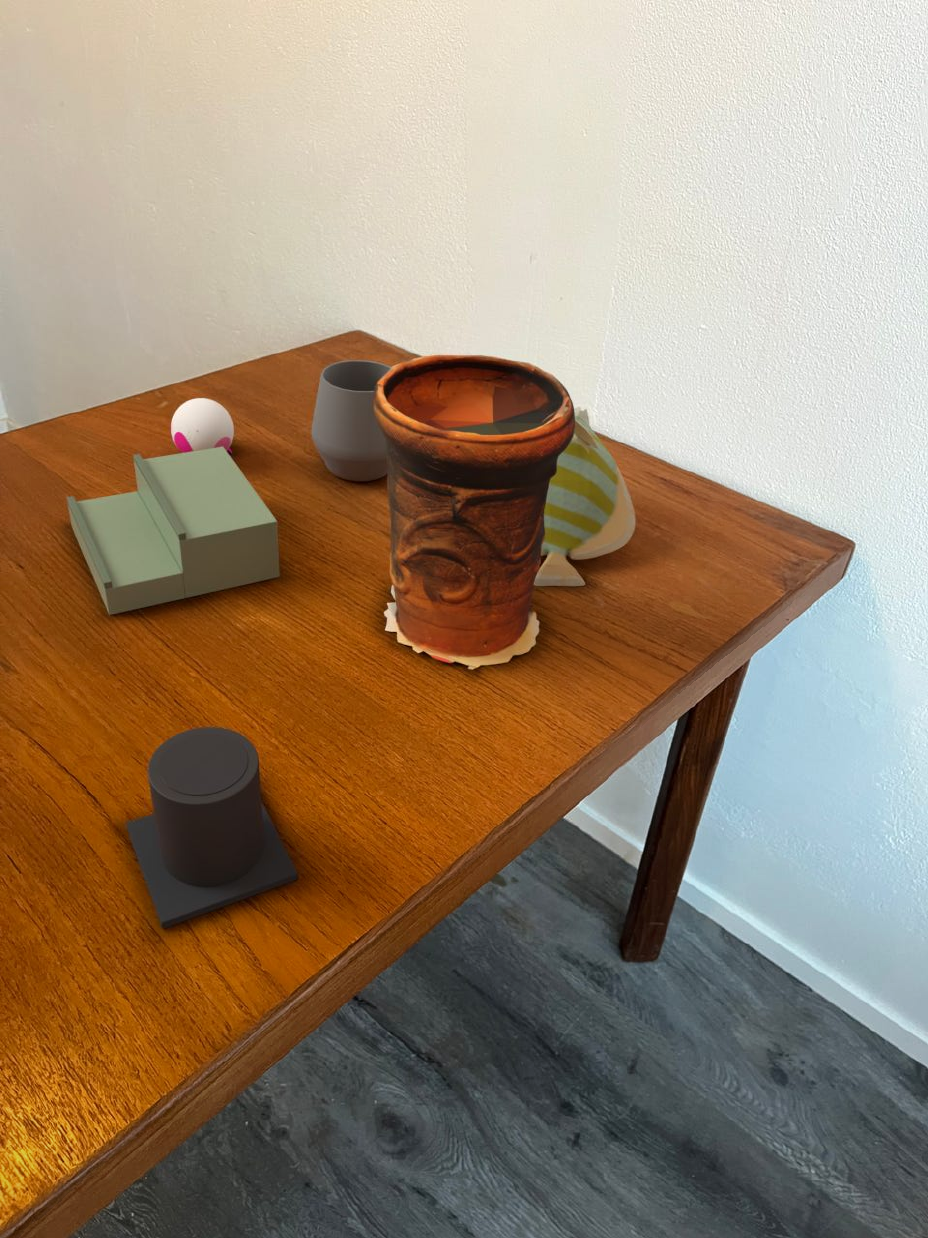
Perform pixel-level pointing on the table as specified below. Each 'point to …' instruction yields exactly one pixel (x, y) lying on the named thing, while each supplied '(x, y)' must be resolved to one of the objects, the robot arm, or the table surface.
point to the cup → (350, 421)
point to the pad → (192, 901)
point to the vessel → (468, 500)
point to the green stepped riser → (177, 532)
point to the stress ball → (201, 426)
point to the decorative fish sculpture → (583, 507)
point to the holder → (207, 805)
